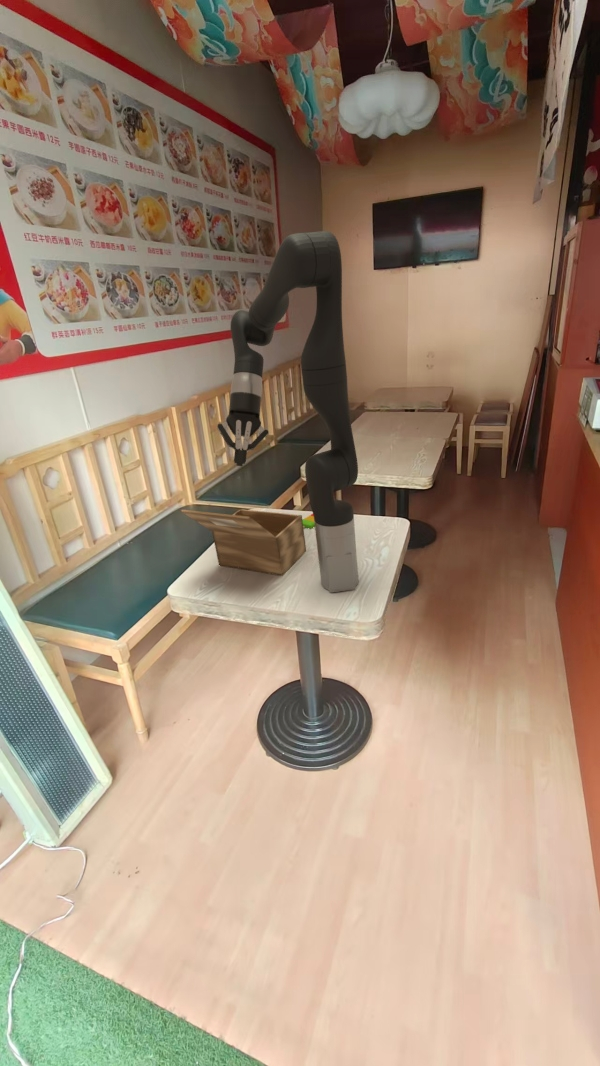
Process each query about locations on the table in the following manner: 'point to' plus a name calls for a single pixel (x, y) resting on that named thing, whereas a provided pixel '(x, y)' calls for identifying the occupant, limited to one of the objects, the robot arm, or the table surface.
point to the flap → (229, 524)
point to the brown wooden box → (263, 544)
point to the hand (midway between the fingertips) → (239, 465)
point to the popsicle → (309, 522)
